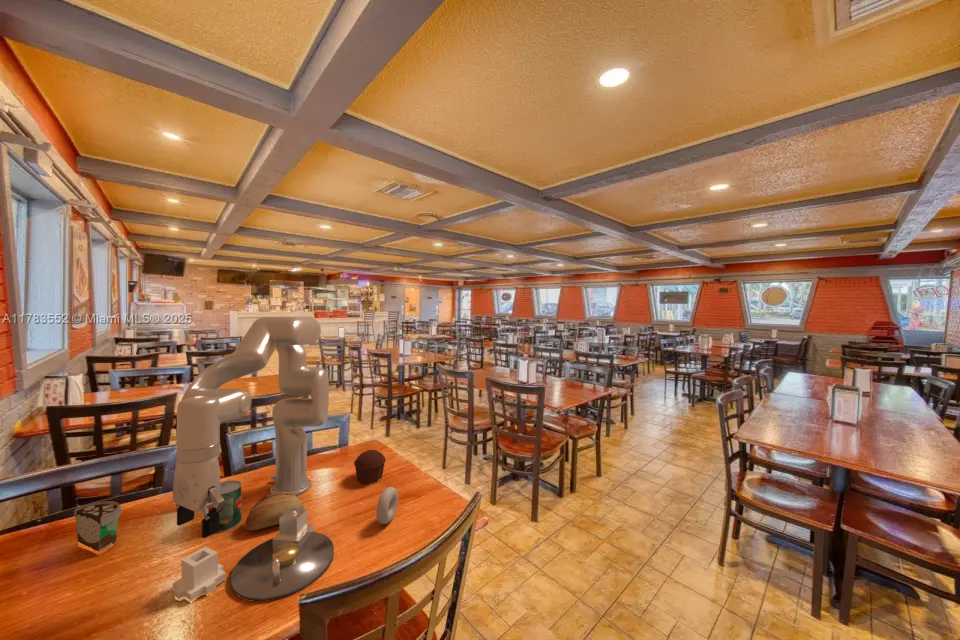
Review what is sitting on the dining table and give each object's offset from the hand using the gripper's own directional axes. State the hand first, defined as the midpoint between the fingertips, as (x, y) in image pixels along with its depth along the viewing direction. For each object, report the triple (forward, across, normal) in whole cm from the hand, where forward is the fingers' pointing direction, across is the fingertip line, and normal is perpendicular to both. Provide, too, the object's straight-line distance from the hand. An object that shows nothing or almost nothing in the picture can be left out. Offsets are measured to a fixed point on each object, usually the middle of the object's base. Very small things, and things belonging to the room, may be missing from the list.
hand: (197, 528), depth 79 cm
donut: (+14, +22, +39) cm, 46 cm away
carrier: (+14, +11, +14) cm, 22 cm away
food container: (+14, -38, -2) cm, 41 cm away
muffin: (+13, -1, +57) cm, 58 cm away
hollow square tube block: (+14, 0, +1) cm, 14 cm away
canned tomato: (+14, -19, +17) cm, 29 cm away
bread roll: (+14, -7, +24) cm, 28 cm away
